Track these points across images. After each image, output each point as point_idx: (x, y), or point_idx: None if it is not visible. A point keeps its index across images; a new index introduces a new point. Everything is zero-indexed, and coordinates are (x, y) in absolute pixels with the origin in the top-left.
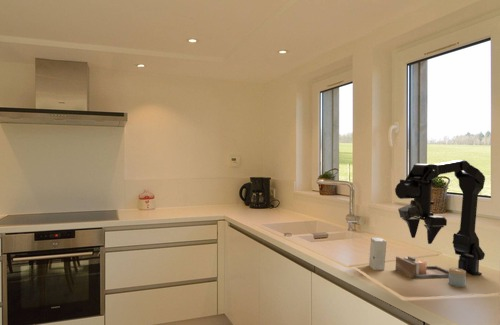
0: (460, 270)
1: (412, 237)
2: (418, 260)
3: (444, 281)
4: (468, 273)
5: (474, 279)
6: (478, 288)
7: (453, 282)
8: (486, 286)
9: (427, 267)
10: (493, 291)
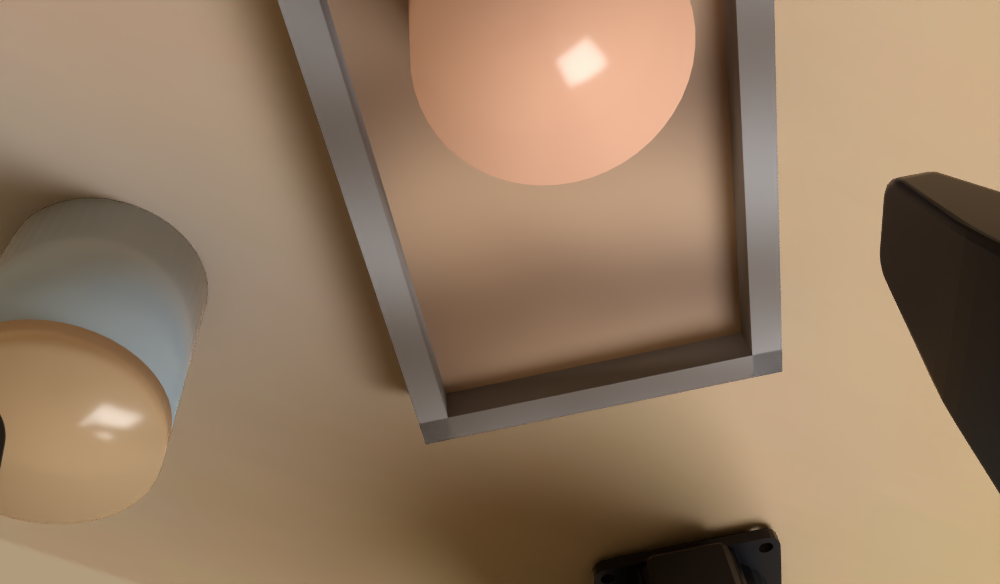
0: (23, 470)
1: (892, 190)
2: (619, 73)
3: (324, 239)
4: (610, 580)
5: (463, 559)
6: None
7: (1, 263)
8: (248, 565)
9: (743, 230)
10: (97, 558)
